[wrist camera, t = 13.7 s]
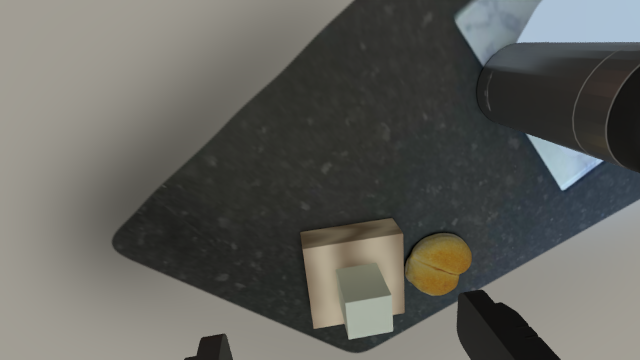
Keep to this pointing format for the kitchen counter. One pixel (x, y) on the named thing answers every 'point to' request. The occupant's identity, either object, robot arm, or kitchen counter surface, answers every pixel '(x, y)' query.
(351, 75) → the kitchen counter surface
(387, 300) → the sage block
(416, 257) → the bread roll
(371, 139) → the kitchen counter surface
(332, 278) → the birch plinth
